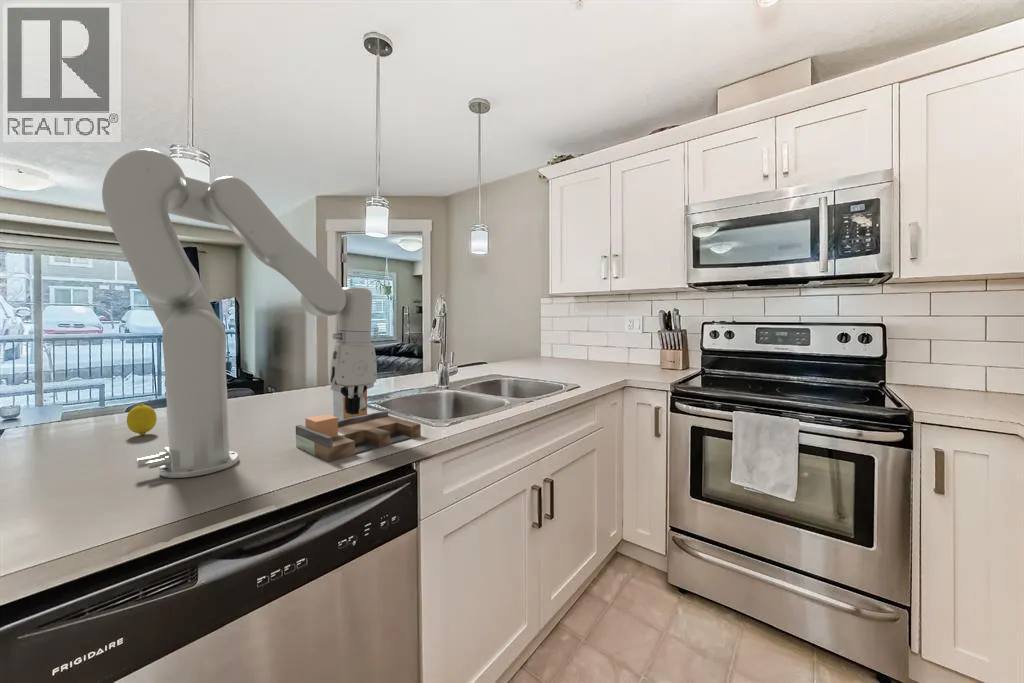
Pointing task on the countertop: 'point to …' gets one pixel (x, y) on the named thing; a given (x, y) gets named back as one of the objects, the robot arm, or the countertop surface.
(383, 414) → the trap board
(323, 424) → the block
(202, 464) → the robot arm
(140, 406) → the lemon
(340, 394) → the small box
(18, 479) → the countertop surface
